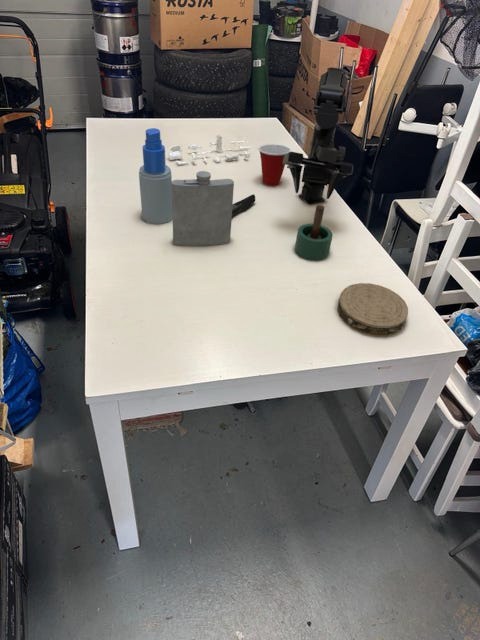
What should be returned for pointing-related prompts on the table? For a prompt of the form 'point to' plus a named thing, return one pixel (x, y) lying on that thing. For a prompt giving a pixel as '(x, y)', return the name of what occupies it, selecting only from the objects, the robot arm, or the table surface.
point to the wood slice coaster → (372, 309)
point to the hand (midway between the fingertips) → (312, 196)
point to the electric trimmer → (243, 204)
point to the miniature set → (177, 155)
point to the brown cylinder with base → (317, 223)
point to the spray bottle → (155, 181)
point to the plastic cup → (272, 162)
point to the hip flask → (202, 210)
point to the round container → (313, 243)
